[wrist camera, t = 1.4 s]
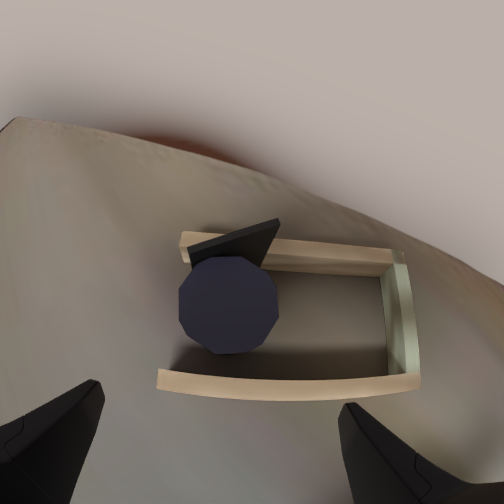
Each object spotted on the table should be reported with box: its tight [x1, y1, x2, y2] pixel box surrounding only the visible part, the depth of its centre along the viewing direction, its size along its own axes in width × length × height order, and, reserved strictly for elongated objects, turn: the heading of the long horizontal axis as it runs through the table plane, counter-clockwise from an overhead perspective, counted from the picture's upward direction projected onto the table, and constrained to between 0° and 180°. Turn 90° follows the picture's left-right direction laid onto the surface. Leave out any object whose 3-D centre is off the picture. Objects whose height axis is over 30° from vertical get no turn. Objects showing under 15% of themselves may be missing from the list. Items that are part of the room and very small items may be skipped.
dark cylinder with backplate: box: [179, 218, 280, 354], centre depth 19 cm, size 8×6×10 cm
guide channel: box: [156, 231, 421, 401], centre depth 22 cm, size 13×20×3 cm, turn 87°
